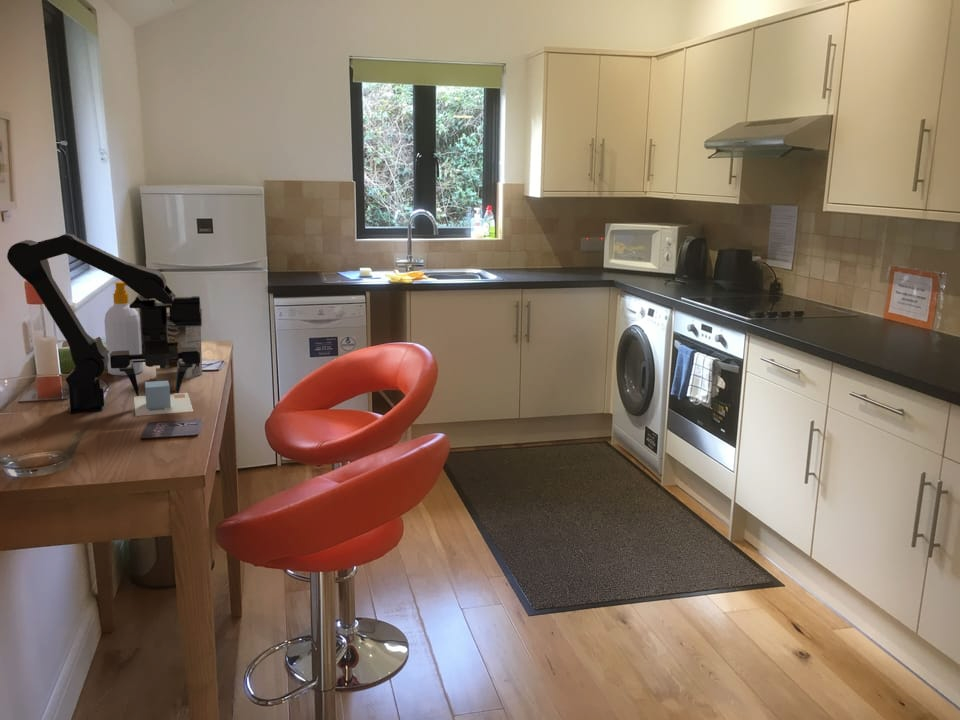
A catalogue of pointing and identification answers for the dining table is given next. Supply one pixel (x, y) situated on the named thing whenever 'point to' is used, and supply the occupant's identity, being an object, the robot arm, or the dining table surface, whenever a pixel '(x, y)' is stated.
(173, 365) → the coffee box
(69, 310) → the robot arm
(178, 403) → the letter
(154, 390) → the blue cube
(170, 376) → the walnut block
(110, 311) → the soap bottle
